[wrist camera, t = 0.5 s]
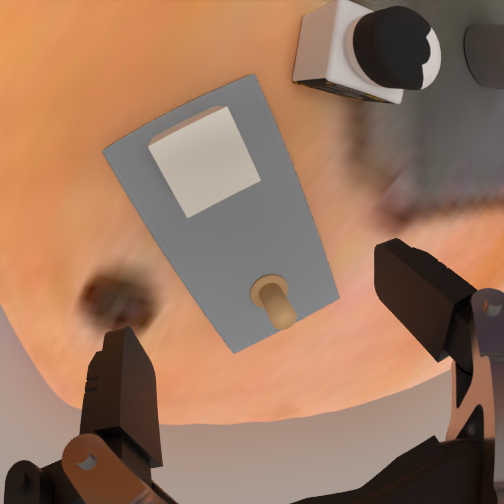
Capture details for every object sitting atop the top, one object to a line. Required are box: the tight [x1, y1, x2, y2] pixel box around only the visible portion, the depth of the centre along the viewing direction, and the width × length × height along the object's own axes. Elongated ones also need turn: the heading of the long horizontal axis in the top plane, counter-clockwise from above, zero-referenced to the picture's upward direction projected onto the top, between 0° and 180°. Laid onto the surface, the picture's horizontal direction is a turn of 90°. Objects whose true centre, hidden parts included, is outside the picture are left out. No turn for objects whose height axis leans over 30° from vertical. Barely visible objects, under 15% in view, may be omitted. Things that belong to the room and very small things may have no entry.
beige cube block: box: [148, 106, 261, 218], centre depth 23 cm, size 6×6×6 cm
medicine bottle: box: [292, 0, 441, 104], centre depth 20 cm, size 7×7×12 cm
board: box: [102, 74, 340, 354], centre depth 28 cm, size 14×26×6 cm, turn 24°
